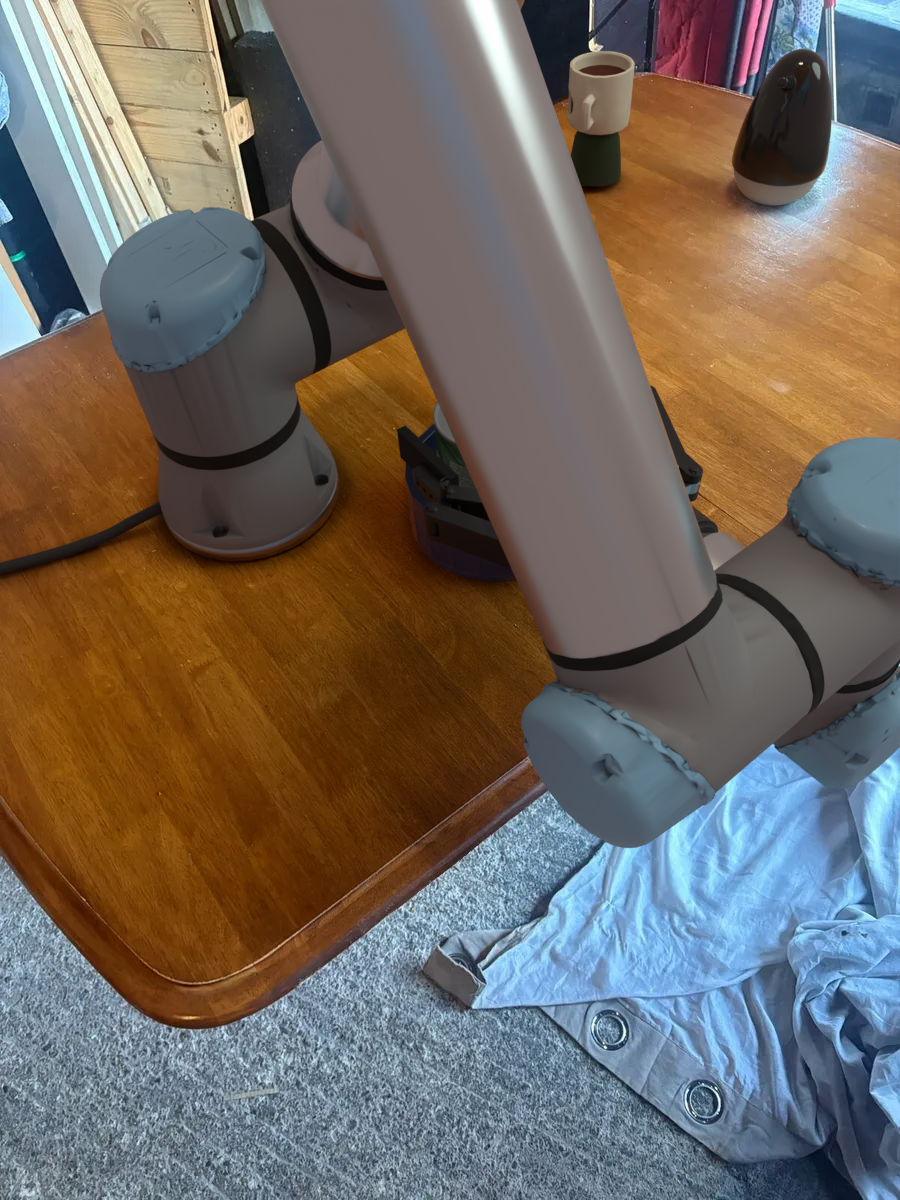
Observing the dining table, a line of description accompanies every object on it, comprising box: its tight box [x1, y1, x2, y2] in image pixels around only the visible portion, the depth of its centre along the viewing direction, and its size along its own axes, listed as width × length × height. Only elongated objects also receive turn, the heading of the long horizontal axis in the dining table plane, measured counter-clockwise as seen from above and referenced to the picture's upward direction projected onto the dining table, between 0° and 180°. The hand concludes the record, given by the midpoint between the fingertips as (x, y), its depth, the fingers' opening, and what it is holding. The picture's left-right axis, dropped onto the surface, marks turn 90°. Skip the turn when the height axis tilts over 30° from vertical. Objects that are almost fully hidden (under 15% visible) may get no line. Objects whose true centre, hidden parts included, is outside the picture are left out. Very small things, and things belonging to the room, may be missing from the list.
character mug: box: [566, 50, 636, 187], centre depth 103 cm, size 11×7×13 cm, turn 156°
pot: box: [404, 423, 516, 582], centre depth 72 cm, size 14×14×6 cm
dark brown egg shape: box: [731, 48, 833, 207], centre depth 97 cm, size 10×10×15 cm
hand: (478, 402), depth 67 cm, fingers open, 13 cm apart
